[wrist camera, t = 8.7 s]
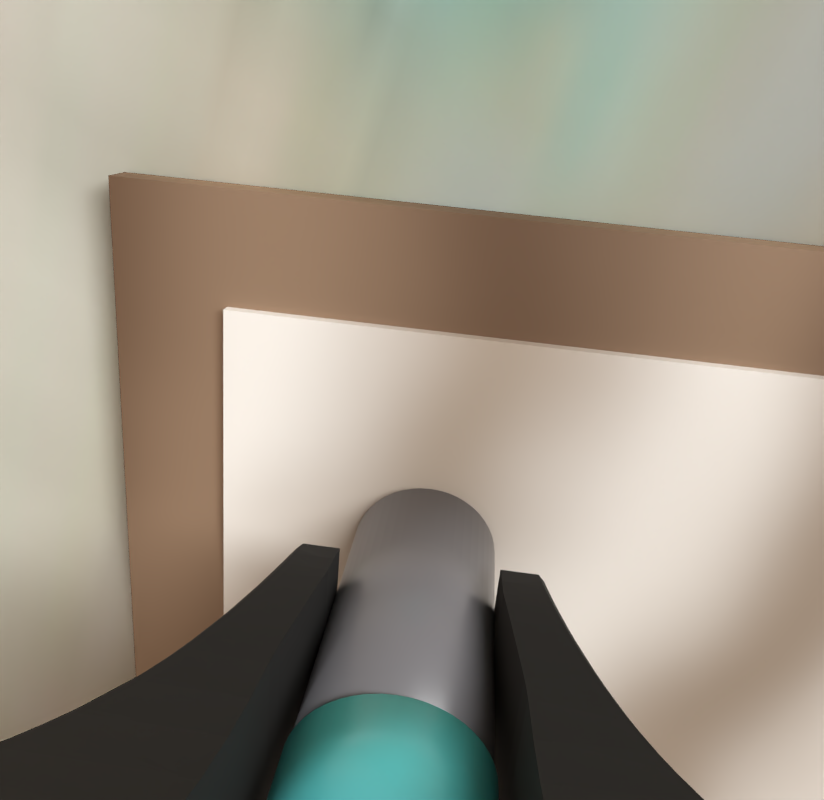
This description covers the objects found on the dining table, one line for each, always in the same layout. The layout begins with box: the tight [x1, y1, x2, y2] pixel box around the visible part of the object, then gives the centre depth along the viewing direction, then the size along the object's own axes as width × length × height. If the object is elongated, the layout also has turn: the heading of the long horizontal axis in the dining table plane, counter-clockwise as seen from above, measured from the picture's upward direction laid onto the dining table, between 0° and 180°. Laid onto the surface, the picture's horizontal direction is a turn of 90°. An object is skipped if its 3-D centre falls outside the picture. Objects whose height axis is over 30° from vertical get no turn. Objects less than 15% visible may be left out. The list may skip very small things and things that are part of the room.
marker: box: [267, 488, 499, 800], centre depth 11 cm, size 3×3×7 cm
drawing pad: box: [109, 172, 824, 800], centre depth 16 cm, size 24×18×1 cm
